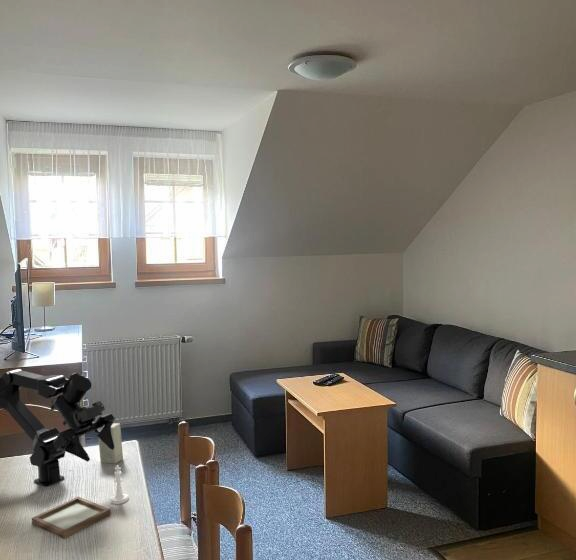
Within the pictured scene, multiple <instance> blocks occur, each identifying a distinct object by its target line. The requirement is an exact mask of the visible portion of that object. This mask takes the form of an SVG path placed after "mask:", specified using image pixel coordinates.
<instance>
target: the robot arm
mask: <svg viewBox="0 0 576 560" xmlns="http://www.w3.org/2000/svg"><path fill="white" fill-rule="evenodd" d="M21 388H26V389H30V390H33V391H36V393H37V395H38V396H40V397H42V398H45V399H46V400H49V399H52V398H55V397H56V398H55V399H54V400H52V401H51V404H50V411H55V410H57V412H58V413H59V414H60V416H61V417H62V419H63V422H62V424H63V426H68V428H67V429H65V430H63V431H61V432H60V431H59V430H58V429H57V428H56V427H52V428H50V429H49V428H47V427H45V425H44V424H43V423H42V421H40V420H39V419H38V417H37V416H36V415H35V414H34V413H33V411H31V410H30V408H29V407H28V406H27V405H26V404H25V403H24V402H23V400H21V391H20V389H21ZM91 388H92V382H91V380H90V379H89V378H87V377H85V376H84V375H79V373H78V372H74V373H72V374H70V375H69V378H66V376H65V375H63V374H53V375H51V374H50V375H41V374H38V373H34V372H30V371H25V370H22V369H21V368H16V369H15V368H14V369H12V370H8V371H6V372H4V373H3V374H2V376H0V409H3V410H5V411H7V413H8V414H9V415H10V416H11V417H12V418H13V420H14V421H15V422H16V423H17V425H19V426H20V428H21V429H22V430H23V431H24V432H25V434H26V435H27V436H28V437H29V438H30V440H31V441H32V450H33V453H32V454H31V455H30V457H29V461H30V465H32V466H36V467H37V473H38V478H35V479H34V480H33V481H34V483H37V484H38V485H41V486H44V487H48V486H51V485H52V484H56V483H57V482H60V481H62V480H64V479H65V476H64V475H61V471H60V470H61V469H60V461H59V459H62V458H65V456H66V455H65V454H66V453H68V454H71V455H73V456H76V457H77V458H80V459H81V460H83V461H86V462H90V461H91V458H90V456H89V455H88V453H87V451H86V449H85V448H84V446H83V445H82V444H81V441H80V437H82V436H84V435H86V434H89V433H91V432H95V433H97V435H96V436H97V437H99V438H100V439H101V440H102V441H103V442H104V443H105V444H106V445H107V446H108V447H109V448H110V449H111V450H113V449H114V448H115V447H114V443H113V439H112V435H111V426H112V424H113V423H115V420H116V417H114V415H113V414H112V413H109V412H108V413H106V414H104V415H103V412H104V411H105V409H106V408H105V406H104V403H102V401H101V400H98V401H95V402H94V403H93V402H92V405H91V407H86V406H81V405H80V402H82V400H83V399H85V397H86V395H87V394H88V392H89V391H90V390H91ZM98 416H99V417H98ZM97 417H98V418H97ZM98 433H99V434H98Z"/></svg>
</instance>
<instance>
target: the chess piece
mask: <svg viewBox="0 0 576 560" xmlns="http://www.w3.org/2000/svg"><path fill="white" fill-rule="evenodd" d="M121 469H122V467H119V465H118V464H117V465H116V466H115V467H114V470H116V471H114V477H115V479H114V483H116V492H115V494H114V495H112V496H111V497H110V503H112V504H113V505H117V504H118V505H119V504H120V505H121V504H123V503H125V502H127V501H128V500H129V495H128V494H127V493H124V492H123V490H122V482H123V478H121V477H122V471H121Z"/></svg>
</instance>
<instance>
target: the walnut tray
mask: <svg viewBox="0 0 576 560" xmlns="http://www.w3.org/2000/svg"><path fill="white" fill-rule="evenodd" d="M111 514H112V513H111V508H109V507H106V506H103V505H101V504H99V503H96V502H94V501H91V500H89V499H85V498H83V497H81V496H75V497H74V498H71V499H69V500H68V501H65V502H63V503H61V504H58V505H56V506H55V507H52V508H49V509H48V510H46V511H43V512H42V513H38V514H37V515H35V516H33V517H31V525H33V526H36V527H38V528H40V529H43V530H44V531H47V532H48V533H51V534H52V535H55V536H58V537H60V538H62V539H64V540H65V539H67V538H69V537H70V536H73V535H75V534H76V533H79V532H81V531H82V530H84V529H86V528H89V527H90V526H92V525H94V524H96V523H98V522H100V521H102V520H104V519H105V518H107V517H109V516H111Z"/></svg>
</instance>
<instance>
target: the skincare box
mask: <svg viewBox="0 0 576 560" xmlns="http://www.w3.org/2000/svg"><path fill="white" fill-rule="evenodd" d="M98 434H99V433H97V435H98ZM111 435H112V439H113V443H114V447H115V448H114V449H113V450H111V449H110V448H109V447H108V446H107V445H106V444H105V443H104V442H103V441H102V440H101V439H100V438H99V437H98V436H97V437H98V450H99V458H100V463H109V464H117V463H118V462H120V461H122V459H124V455H123V454H124V453H123V442H122V441H123V440H122V429H121V423H118V422H113V424H112V426H111Z"/></svg>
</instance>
